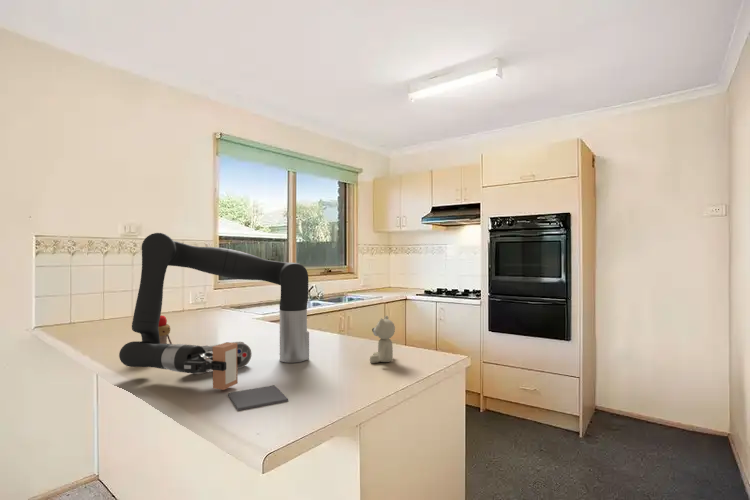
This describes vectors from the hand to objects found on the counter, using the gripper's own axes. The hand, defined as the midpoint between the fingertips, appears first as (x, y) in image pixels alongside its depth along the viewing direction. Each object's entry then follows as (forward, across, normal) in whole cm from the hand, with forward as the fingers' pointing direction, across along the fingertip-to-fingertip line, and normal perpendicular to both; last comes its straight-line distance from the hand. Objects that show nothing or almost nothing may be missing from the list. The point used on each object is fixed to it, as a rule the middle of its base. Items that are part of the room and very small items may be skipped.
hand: (233, 363), depth 108 cm
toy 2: (+29, +40, +8) cm, 50 cm away
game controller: (-17, +14, +8) cm, 23 cm away
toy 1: (-46, +18, +8) cm, 50 cm away
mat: (+10, -3, +7) cm, 12 cm away
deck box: (-3, 0, +6) cm, 7 cm away
